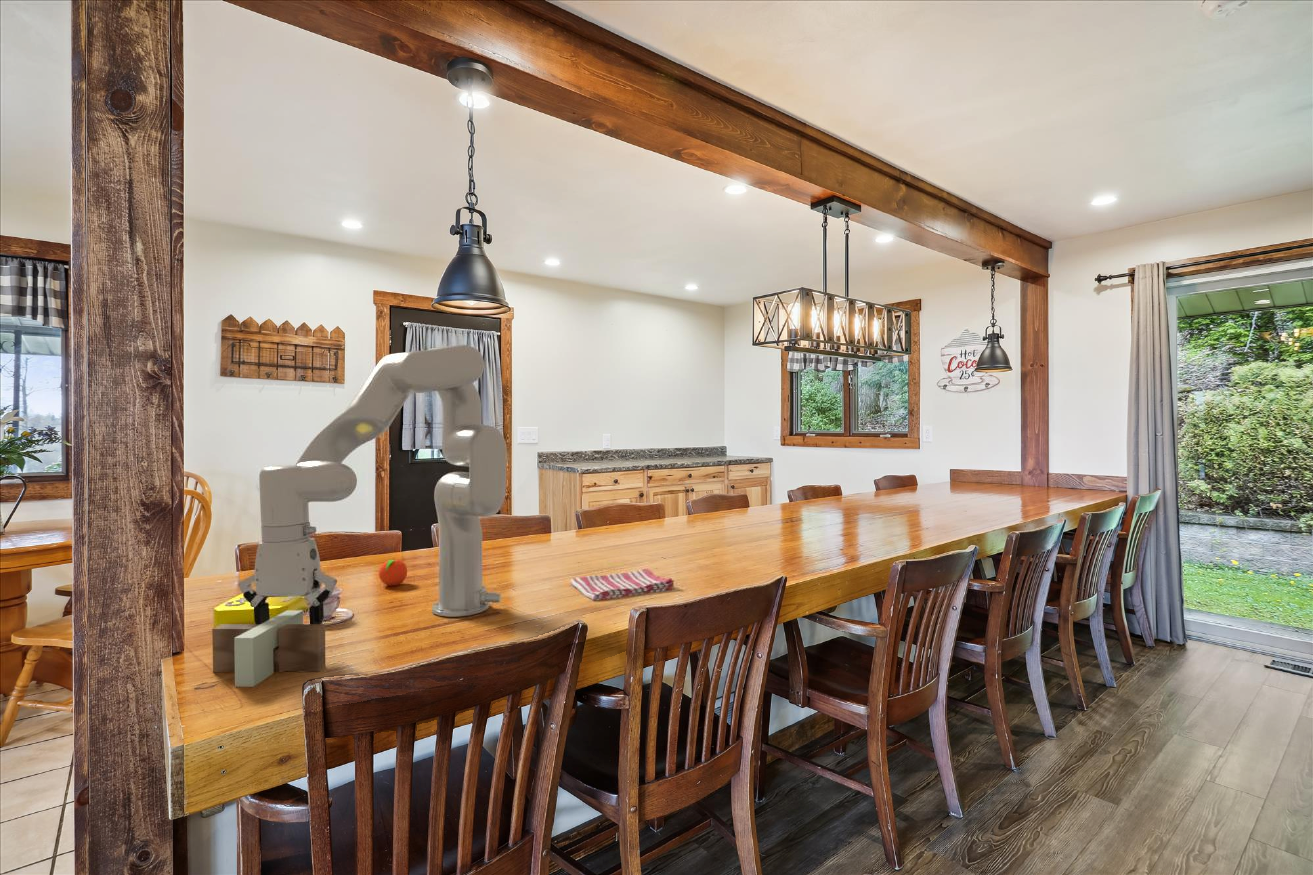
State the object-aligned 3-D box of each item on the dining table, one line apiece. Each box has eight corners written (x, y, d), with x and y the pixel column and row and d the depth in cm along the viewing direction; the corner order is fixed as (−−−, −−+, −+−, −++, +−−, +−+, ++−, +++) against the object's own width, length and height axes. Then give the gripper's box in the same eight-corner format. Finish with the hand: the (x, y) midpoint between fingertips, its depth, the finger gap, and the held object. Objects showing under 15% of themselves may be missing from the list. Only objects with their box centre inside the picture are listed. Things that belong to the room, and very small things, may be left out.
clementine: (399, 589, 162) (399, 562, 162) (372, 590, 162) (372, 562, 162) (411, 582, 170) (411, 555, 170) (385, 582, 170) (385, 555, 170)
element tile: (286, 627, 134) (285, 604, 134) (209, 630, 132) (208, 607, 132) (314, 606, 149) (314, 586, 149) (245, 609, 147) (245, 588, 147)
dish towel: (676, 591, 163) (676, 578, 163) (592, 603, 153) (592, 589, 152) (646, 577, 178) (646, 564, 178) (567, 586, 168) (567, 573, 167)
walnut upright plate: (325, 666, 112) (325, 624, 111) (318, 671, 109) (317, 628, 109) (222, 666, 111) (221, 624, 111) (212, 672, 109) (212, 628, 109)
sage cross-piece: (303, 652, 118) (303, 610, 118) (253, 686, 103) (252, 637, 103) (287, 652, 118) (286, 610, 118) (235, 686, 103) (234, 637, 103)
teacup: (278, 624, 135) (277, 595, 135) (324, 608, 146) (324, 582, 146) (321, 630, 131) (320, 601, 131) (365, 614, 142) (365, 587, 142)
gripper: (343, 528, 119) (346, 618, 120) (250, 530, 118) (254, 620, 119) (323, 536, 111) (326, 632, 112) (223, 538, 111) (228, 634, 112)
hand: (289, 626), depth 116 cm, fingers open, 9 cm apart
